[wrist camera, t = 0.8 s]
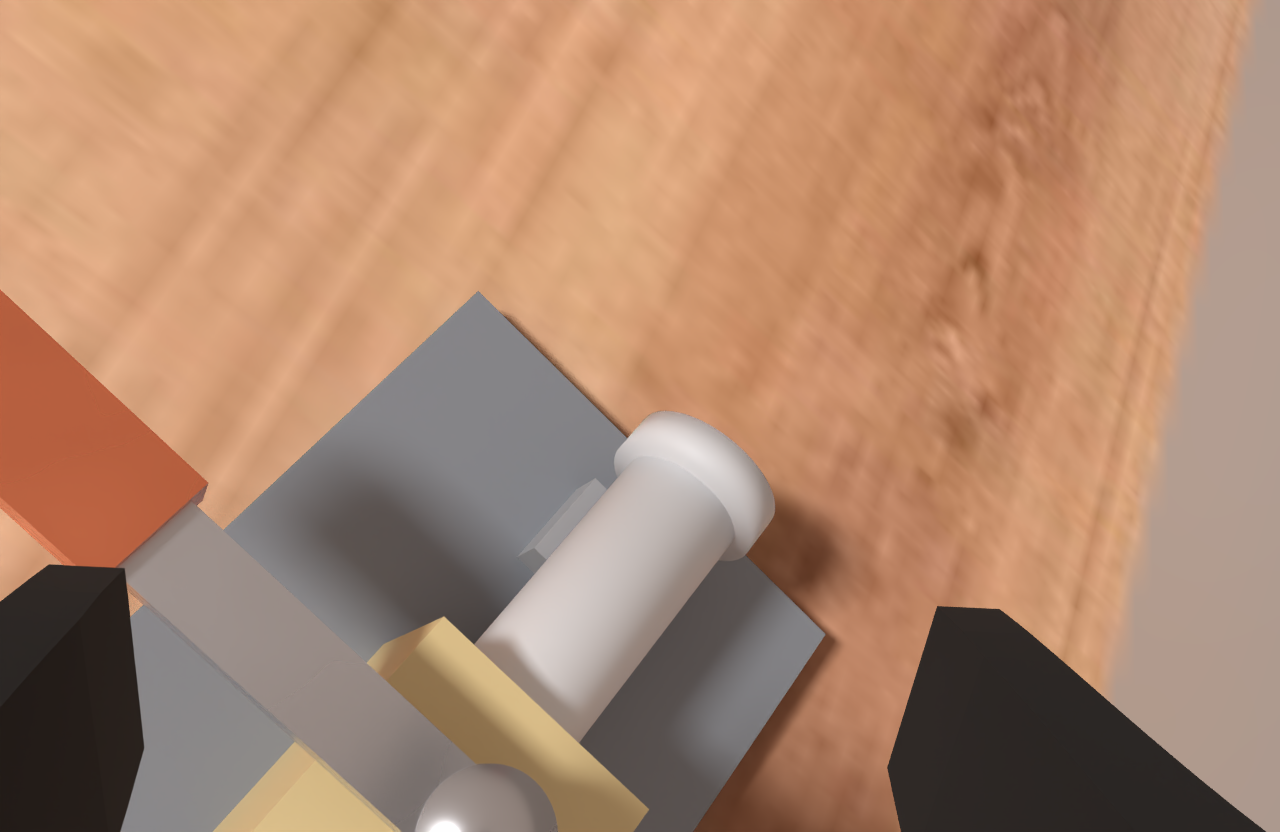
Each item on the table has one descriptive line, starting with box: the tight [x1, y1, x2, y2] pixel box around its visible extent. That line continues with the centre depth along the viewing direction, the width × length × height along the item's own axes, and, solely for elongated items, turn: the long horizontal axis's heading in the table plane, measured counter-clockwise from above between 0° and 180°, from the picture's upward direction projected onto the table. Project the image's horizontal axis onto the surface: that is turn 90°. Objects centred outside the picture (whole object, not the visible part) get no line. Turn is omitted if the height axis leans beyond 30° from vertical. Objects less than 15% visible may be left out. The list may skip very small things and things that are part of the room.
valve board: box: [120, 291, 825, 832], centre depth 21 cm, size 20×12×7 cm, turn 141°
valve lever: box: [0, 290, 558, 832], centre depth 17 cm, size 12×2×1 cm, turn 50°
